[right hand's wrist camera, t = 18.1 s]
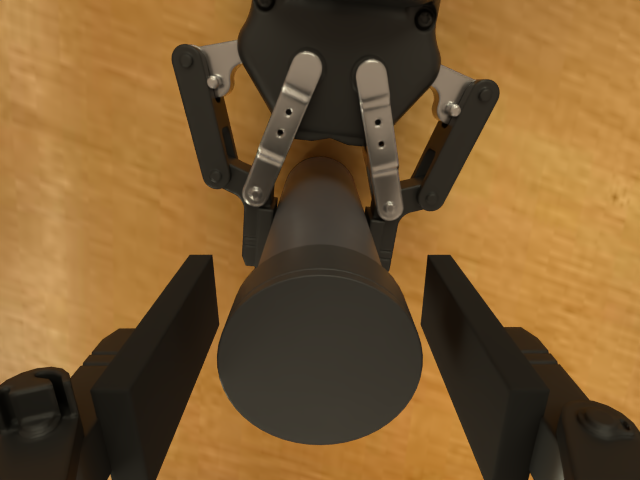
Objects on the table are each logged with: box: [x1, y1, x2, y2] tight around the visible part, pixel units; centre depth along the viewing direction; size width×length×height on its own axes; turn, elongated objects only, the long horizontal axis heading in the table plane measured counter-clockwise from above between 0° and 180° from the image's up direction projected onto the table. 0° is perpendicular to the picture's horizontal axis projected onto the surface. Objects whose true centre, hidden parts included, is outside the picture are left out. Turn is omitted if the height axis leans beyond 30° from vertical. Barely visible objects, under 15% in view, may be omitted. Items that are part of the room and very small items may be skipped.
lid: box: [217, 244, 423, 445], centre depth 12 cm, size 5×5×2 cm
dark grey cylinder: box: [258, 157, 382, 266], centre depth 19 cm, size 4×4×17 cm
